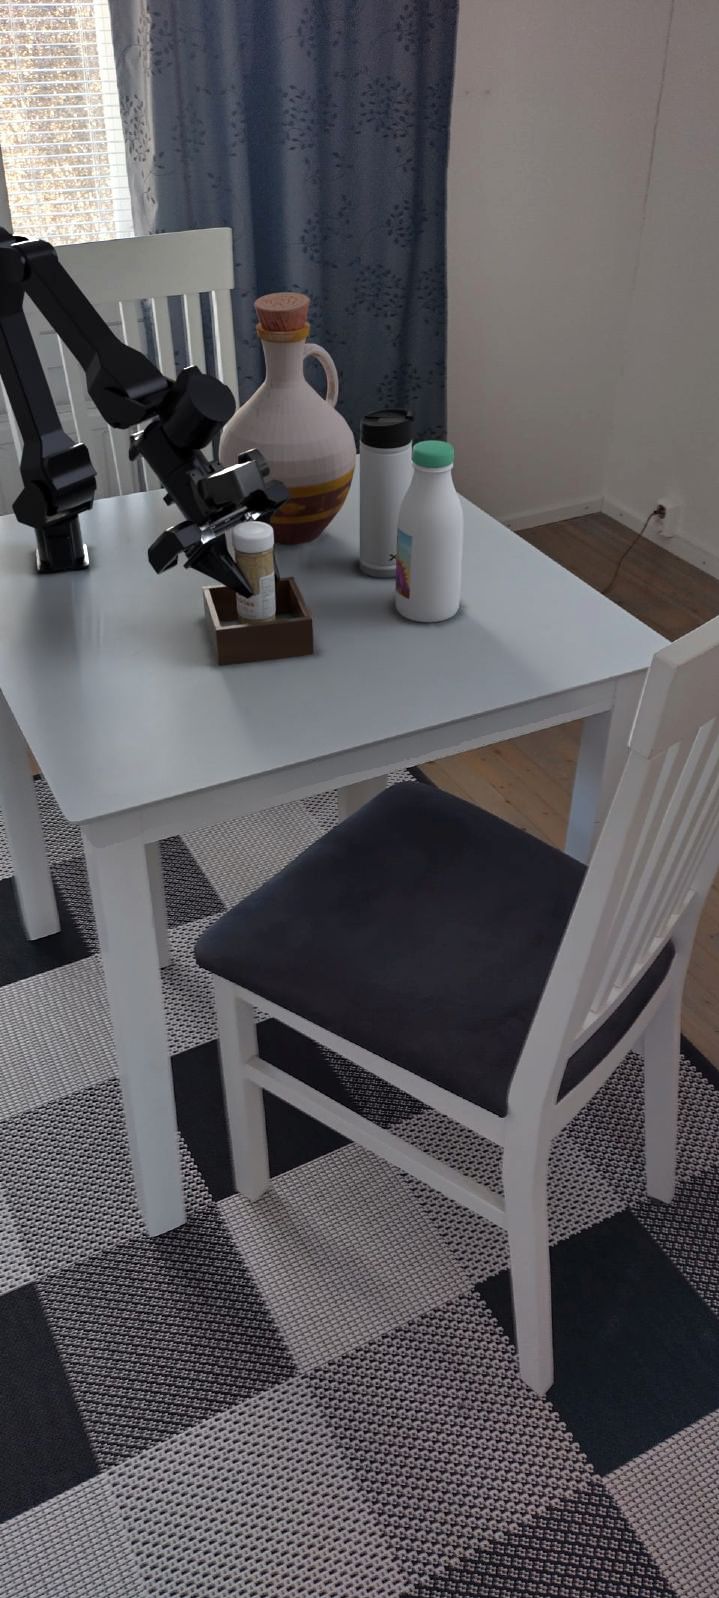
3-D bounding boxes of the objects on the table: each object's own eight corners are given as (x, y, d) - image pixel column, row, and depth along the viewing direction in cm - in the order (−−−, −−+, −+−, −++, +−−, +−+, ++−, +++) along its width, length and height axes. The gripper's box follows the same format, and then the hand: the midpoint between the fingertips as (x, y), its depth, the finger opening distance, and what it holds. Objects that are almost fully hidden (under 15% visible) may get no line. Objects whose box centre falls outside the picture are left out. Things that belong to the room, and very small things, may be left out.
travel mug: (406, 580, 148) (411, 422, 136) (355, 576, 149) (355, 418, 137) (414, 559, 153) (419, 405, 141) (364, 554, 154) (365, 401, 142)
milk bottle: (466, 599, 144) (476, 438, 132) (449, 628, 138) (458, 462, 126) (406, 590, 146) (410, 430, 134) (386, 618, 140) (389, 454, 128)
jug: (288, 492, 170) (279, 271, 152) (389, 522, 162) (393, 291, 144) (197, 538, 158) (176, 303, 140) (301, 573, 149) (294, 327, 131)
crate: (205, 620, 139) (202, 586, 137) (294, 610, 141) (293, 576, 139) (218, 666, 131) (215, 630, 128) (313, 654, 133) (312, 618, 130)
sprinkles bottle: (230, 638, 136) (222, 528, 128) (257, 623, 139) (251, 516, 131) (258, 650, 134) (252, 540, 126) (286, 636, 136) (282, 527, 128)
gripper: (155, 457, 118) (244, 587, 119) (275, 407, 130) (355, 526, 131) (110, 512, 127) (194, 633, 128) (227, 461, 139) (302, 572, 140)
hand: (264, 589), depth 132 cm, fingers closed on sprinkles bottle, 4 cm apart
